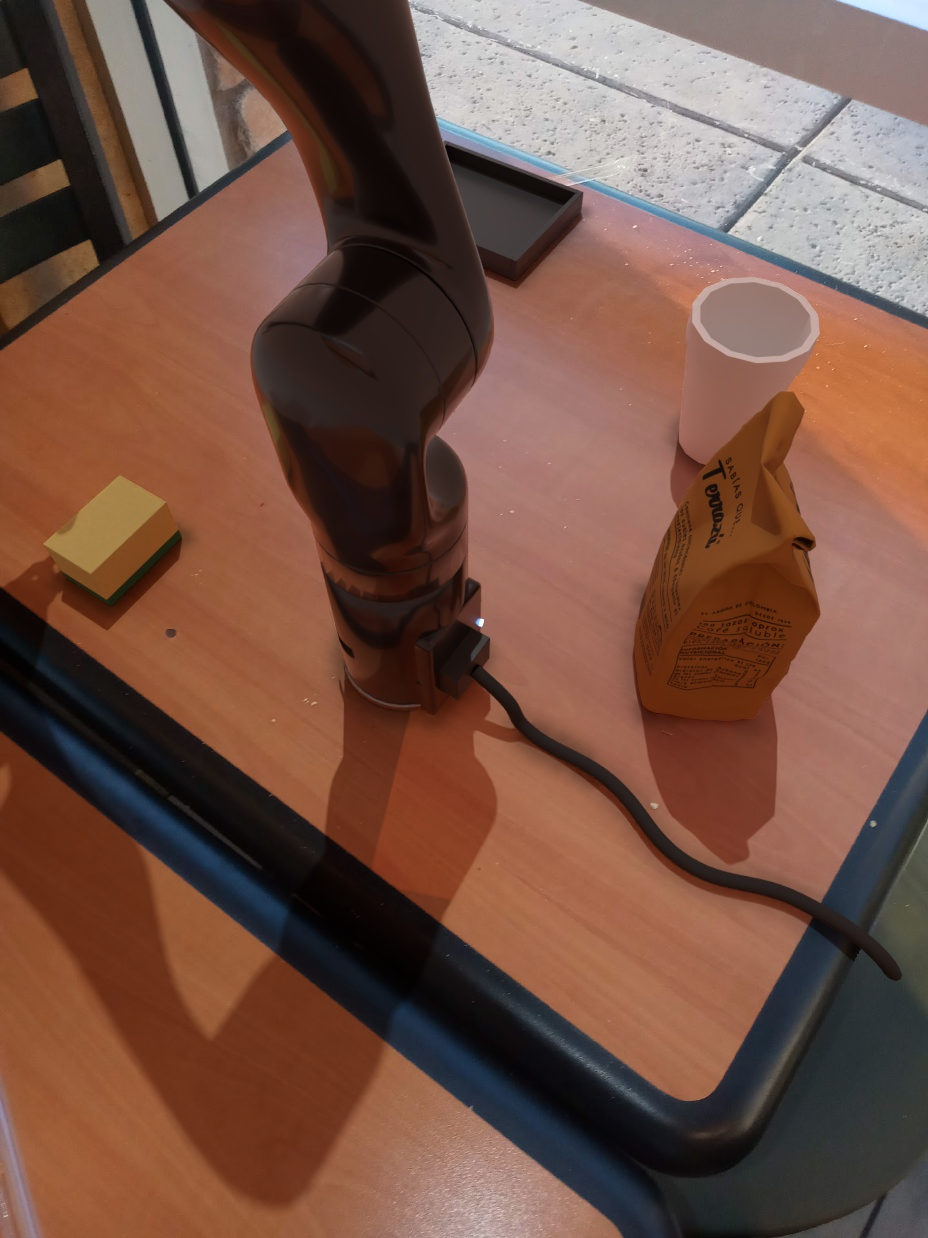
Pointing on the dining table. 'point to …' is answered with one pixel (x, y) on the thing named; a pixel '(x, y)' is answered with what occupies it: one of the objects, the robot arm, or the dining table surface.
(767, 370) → the foam cup
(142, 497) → the sponge
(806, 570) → the coffee package
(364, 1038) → the dining table surface
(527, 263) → the tray
